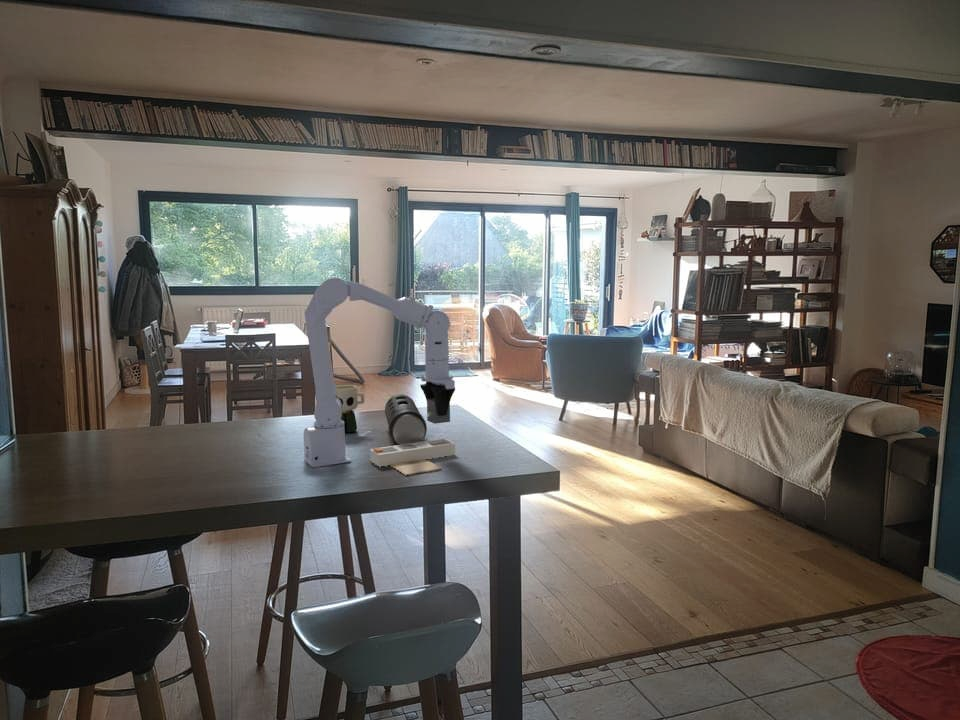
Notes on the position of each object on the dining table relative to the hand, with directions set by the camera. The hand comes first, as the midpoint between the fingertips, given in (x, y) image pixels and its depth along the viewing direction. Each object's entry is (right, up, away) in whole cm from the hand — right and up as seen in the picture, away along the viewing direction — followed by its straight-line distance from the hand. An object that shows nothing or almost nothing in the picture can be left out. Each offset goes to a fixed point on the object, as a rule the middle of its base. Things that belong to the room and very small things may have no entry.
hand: (438, 413), depth 169 cm
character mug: (-28, -7, +26) cm, 39 cm away
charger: (0, -2, 0) cm, 2 cm away
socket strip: (-6, -11, -2) cm, 12 cm away
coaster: (-5, -12, -10) cm, 16 cm away
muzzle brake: (-10, -9, +17) cm, 21 cm away
